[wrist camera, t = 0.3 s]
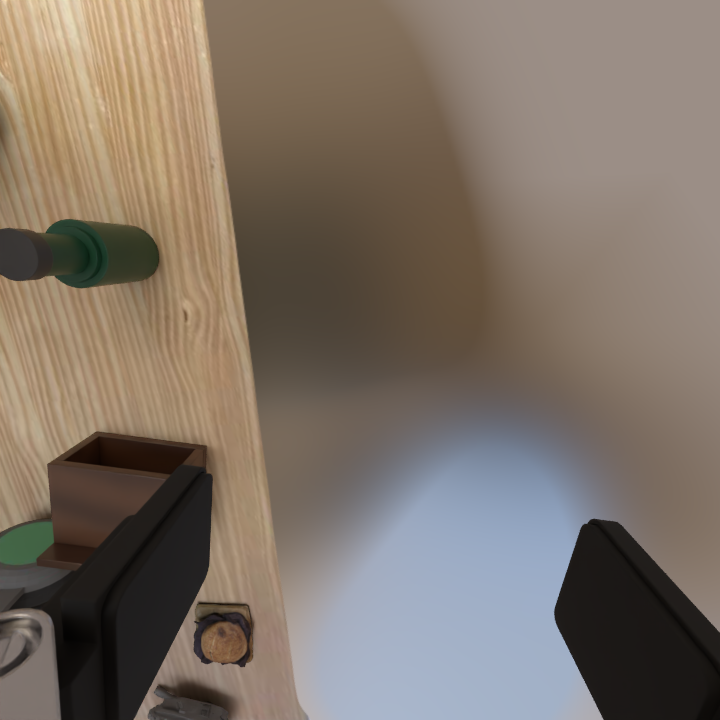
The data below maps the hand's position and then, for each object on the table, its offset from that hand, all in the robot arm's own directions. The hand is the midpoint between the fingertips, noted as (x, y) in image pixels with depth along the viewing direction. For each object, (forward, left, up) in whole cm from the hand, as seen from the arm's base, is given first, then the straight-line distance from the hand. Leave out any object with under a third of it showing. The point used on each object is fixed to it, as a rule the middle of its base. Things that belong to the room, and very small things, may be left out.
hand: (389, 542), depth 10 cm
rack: (+25, -26, -37) cm, 52 cm away
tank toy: (+64, -19, -32) cm, 74 cm away
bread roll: (+47, -10, -36) cm, 59 cm away
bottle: (-3, -28, -37) cm, 46 cm away
